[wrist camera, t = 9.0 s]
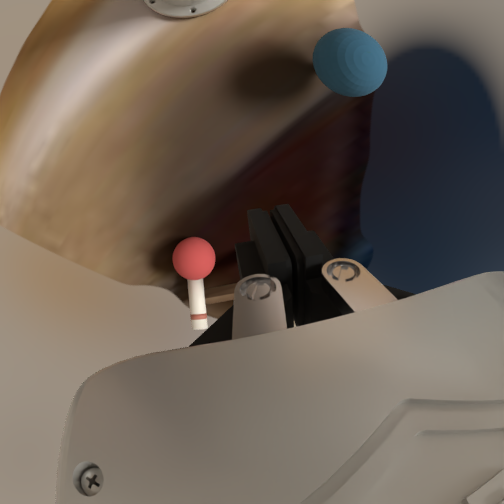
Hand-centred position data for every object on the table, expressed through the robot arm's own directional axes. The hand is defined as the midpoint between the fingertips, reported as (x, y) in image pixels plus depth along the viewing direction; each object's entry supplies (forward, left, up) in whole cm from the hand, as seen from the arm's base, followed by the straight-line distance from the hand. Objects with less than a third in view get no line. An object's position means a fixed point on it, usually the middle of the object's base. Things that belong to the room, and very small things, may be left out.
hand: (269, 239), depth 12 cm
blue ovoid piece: (-9, +15, -28) cm, 33 cm away
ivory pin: (+18, -8, -27) cm, 34 cm away
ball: (+15, -7, -25) cm, 30 cm away
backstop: (+23, -4, -28) cm, 36 cm away
